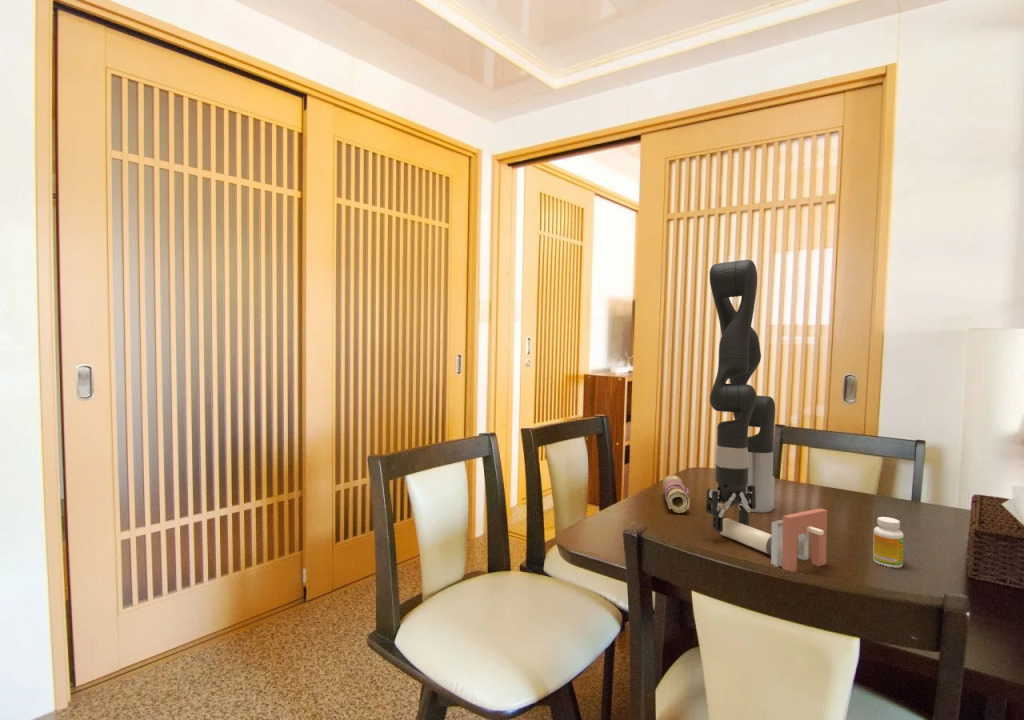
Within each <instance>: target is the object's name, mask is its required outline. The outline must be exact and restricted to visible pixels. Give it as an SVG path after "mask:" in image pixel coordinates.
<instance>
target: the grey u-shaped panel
mask: <svg viewBox="0 0 1024 720" xmlns="http://www.w3.org/2000/svg"><path fill="white" fill-rule="evenodd" d="M809 533H810V532H809ZM809 533H804V534H800V535H797V559H799V560H802V561H808V560H809ZM771 535H772V538H771V555H770V558H771V559H770V563H771V564H770V565H771V566H773V567H775V568H780V567H779V566H781V567H782V539H783V519H779V520H775V521H771ZM772 564H774V565H772ZM775 565H776V566H775ZM778 565H779V566H778Z"/></svg>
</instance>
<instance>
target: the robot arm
mask: <svg viewBox="0 0 1024 720" xmlns="http://www.w3.org/2000/svg"><path fill="white" fill-rule="evenodd" d="M709 283H710V289H711V294H712V298H713V301H714V306H715V308H716V312H717V315H718V316H717V317H718V321H719V325H720V326H719V327H720V332H721V333H720V334H721V338H720V341H719V344H718V366H717V373H716V377H715V380H714V383H713V386H712V389H711V391H710V395H709V403H710V406H711V407H712V409H713V410H715V411H716V412H720V413H721V412H723V413H732V414H733V418H734V419H733V420H725V421H721V422H719V423H718V425H717V430H716V431H717V432H716V451H715V475H714V477H715V482H716V483H717V487H716V489H711V488H708V489H706V502H705V503H706V504H705V513H707V514H709V515H712V528H713V530H714V531H715V532H718V533H720V532H722V531H723V519H724V517H723V515H724V513H725V512H726V511H728V510H729V508H730V507H733V506H737V507H738V509H739V510H738V511H739V512H738V522H739V523H742V524H744V525H747V526H749V523H750V520H749V518H750V512H752V513H770V512H772V511H773V509H775V502H776V500H775V499H776V497H775V496H776V495H775V493H776V492H775V491H776V486H775V485H776V478H775V476H774V475H773V474H774V439H775V438H774V435H775V422H776V421H775V419H776V404H775V400H774V398H773V397H772V396H768V395H757V391H756V389H755V388H754V387H753V386H752V385H750V384H748V382H749V380H750V379H751V377H752V375H753V374H754V372H755V371H756V370H757V368H758V366H759V365H760V362H761V359H762V352H761V344H760V339H759V336H758V334H757V332H756V330H755V329H754V328H753V327H752V323H753V317H754V311H755V303H756V297H757V291H758V289H757V288H758V271H757V267H756V264H755V262H754V261H753V260H751V259H740V260H735V261H725V262H719V263H714V264H713V265H712V266H711V267H710V269H709ZM736 297H737V298H738V297H741V298H740V304H739V306H738V309H737V310H736V309H735V308H734V306H733V304H732V302H731V299H730V298H736ZM728 380H729V383H727V381H728ZM749 427H752V428H753V427H754V428H759V432H758V433H756V434H754V435H750V436H749Z"/></svg>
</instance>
